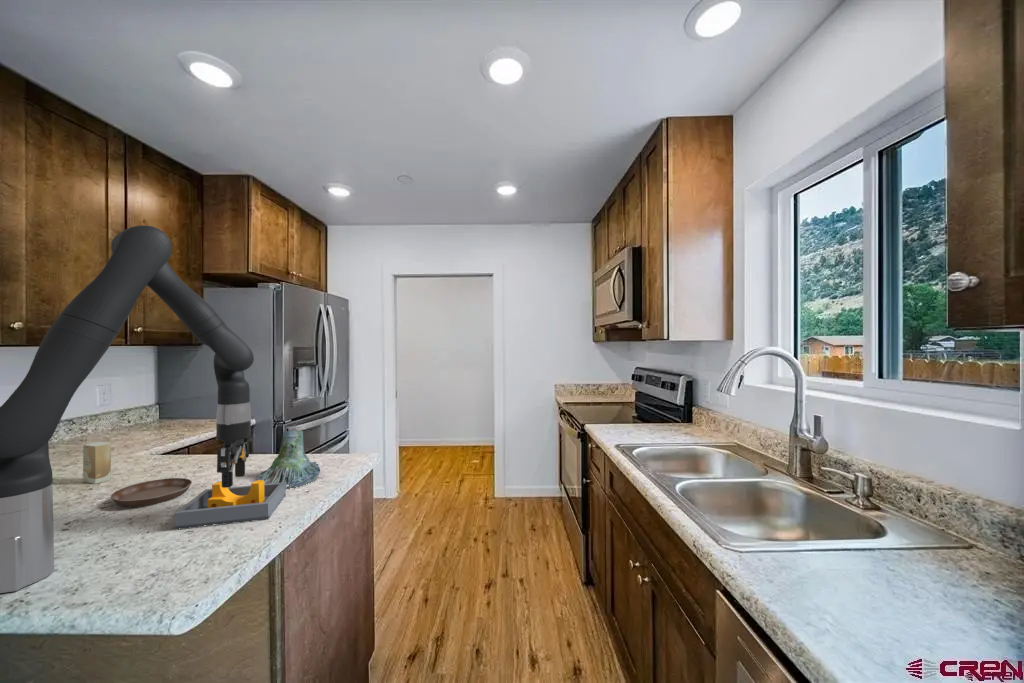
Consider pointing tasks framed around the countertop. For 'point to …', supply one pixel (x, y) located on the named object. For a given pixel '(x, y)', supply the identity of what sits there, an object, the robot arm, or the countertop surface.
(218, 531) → the countertop surface
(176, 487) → the plant saucer
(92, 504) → the countertop surface
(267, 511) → the tray
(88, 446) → the skincare box
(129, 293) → the robot arm
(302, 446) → the tree stump
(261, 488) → the pipe clamp
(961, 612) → the countertop surface
